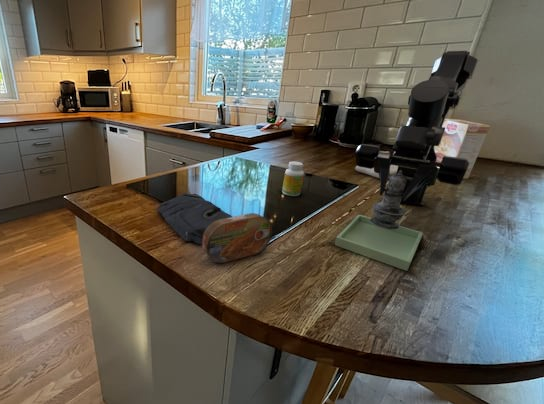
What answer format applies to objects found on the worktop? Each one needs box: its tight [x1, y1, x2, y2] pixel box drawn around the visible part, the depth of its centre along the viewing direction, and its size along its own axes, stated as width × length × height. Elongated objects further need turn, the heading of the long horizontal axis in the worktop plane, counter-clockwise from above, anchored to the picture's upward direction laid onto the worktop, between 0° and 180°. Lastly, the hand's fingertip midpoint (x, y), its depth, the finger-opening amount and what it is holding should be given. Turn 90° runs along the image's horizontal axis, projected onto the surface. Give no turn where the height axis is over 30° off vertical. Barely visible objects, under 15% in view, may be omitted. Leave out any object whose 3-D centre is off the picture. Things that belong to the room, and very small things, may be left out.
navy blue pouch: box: [156, 193, 233, 246], centre depth 73 cm, size 15×22×5 cm
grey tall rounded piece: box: [370, 170, 407, 229], centre depth 62 cm, size 6×6×12 cm
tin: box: [201, 212, 273, 264], centre depth 59 cm, size 15×3×8 cm, turn 114°
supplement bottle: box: [281, 161, 305, 197], centre depth 91 cm, size 5×5×10 cm
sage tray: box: [334, 214, 424, 272], centre depth 65 cm, size 16×13×2 cm
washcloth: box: [354, 165, 398, 180], centre depth 113 cm, size 12×18×3 cm, turn 114°
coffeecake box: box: [434, 118, 491, 180], centre depth 112 cm, size 15×7×20 cm, turn 172°
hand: (391, 197), depth 60 cm, fingers closed on grey tall rounded piece, 3 cm apart
